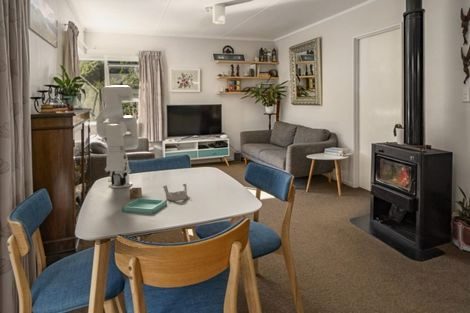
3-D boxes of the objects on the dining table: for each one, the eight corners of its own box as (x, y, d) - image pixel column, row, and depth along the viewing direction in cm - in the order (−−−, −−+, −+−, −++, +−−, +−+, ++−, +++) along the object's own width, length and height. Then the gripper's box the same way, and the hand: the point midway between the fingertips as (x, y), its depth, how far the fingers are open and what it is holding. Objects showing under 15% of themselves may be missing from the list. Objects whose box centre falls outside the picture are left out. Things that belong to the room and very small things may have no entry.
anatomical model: (167, 202, 164) (165, 182, 166) (164, 204, 174) (162, 186, 176) (192, 198, 169) (189, 179, 171) (188, 201, 179) (185, 183, 181)
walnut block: (129, 199, 173) (129, 190, 173) (133, 196, 178) (132, 187, 177) (139, 199, 173) (138, 190, 172) (142, 196, 178) (141, 187, 177)
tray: (122, 211, 154) (121, 206, 154) (138, 202, 168) (138, 197, 167) (152, 214, 150) (152, 209, 150) (166, 204, 163) (166, 200, 163)
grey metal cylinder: (112, 185, 163) (111, 175, 162) (117, 183, 168) (116, 172, 167) (120, 186, 162) (119, 175, 161) (125, 183, 167) (124, 173, 165)
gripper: (135, 148, 162) (137, 183, 166) (106, 146, 167) (109, 181, 171) (126, 151, 155) (129, 187, 159) (96, 149, 160) (99, 185, 164)
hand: (118, 184), depth 165 cm, fingers closed on grey metal cylinder, 4 cm apart
